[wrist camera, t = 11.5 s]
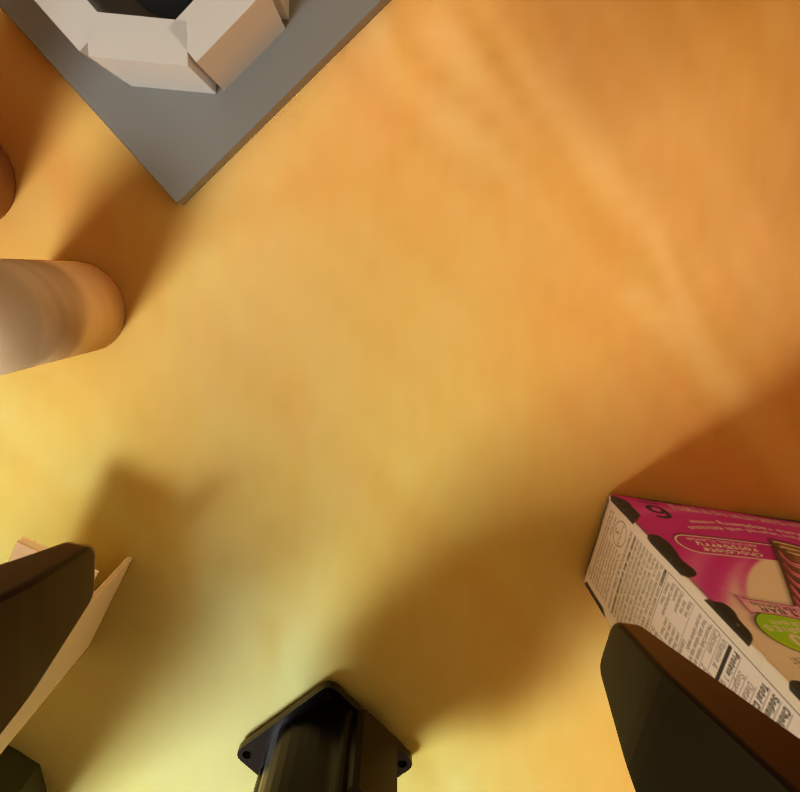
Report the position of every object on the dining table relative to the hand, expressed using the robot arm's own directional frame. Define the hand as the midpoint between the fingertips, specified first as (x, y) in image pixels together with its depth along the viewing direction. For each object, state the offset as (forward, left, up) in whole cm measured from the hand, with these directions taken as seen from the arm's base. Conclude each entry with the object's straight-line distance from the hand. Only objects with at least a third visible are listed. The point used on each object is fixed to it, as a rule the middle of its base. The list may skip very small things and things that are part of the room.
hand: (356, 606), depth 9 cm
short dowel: (-7, +11, -13) cm, 18 cm away
